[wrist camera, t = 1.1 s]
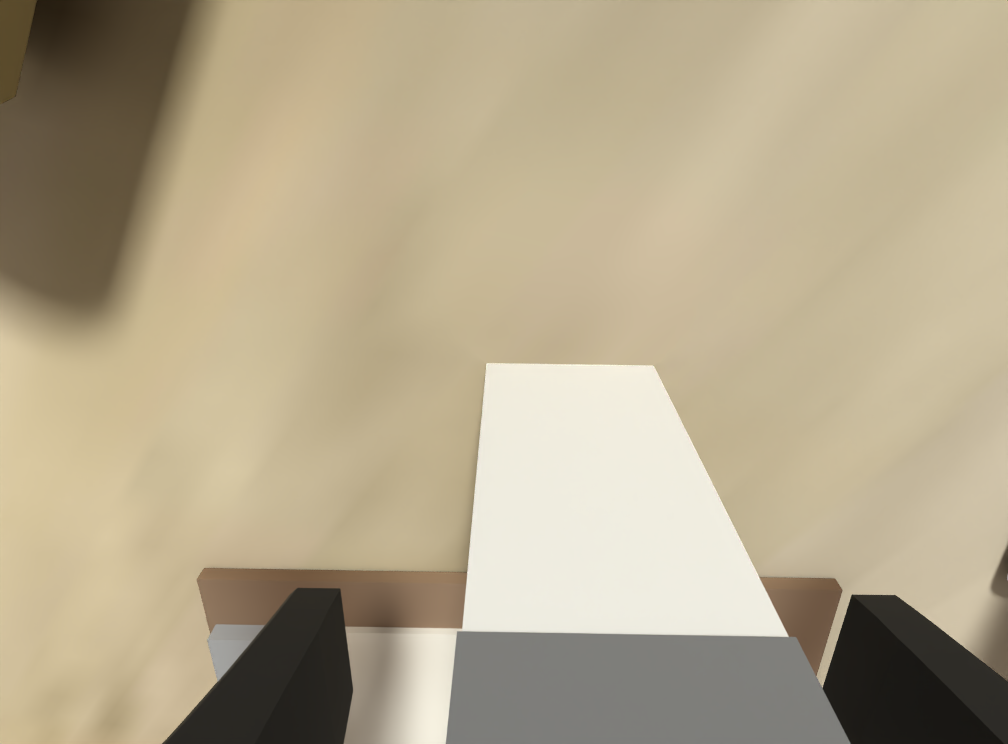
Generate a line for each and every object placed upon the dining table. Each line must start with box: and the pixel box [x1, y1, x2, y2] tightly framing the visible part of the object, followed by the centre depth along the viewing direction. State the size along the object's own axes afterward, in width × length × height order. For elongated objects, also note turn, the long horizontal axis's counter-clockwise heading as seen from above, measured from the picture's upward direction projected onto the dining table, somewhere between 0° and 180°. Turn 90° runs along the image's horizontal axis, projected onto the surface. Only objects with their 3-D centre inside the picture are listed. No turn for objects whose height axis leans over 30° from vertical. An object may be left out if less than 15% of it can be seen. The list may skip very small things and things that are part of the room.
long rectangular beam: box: [446, 363, 851, 744], centre depth 10 cm, size 4×4×9 cm
